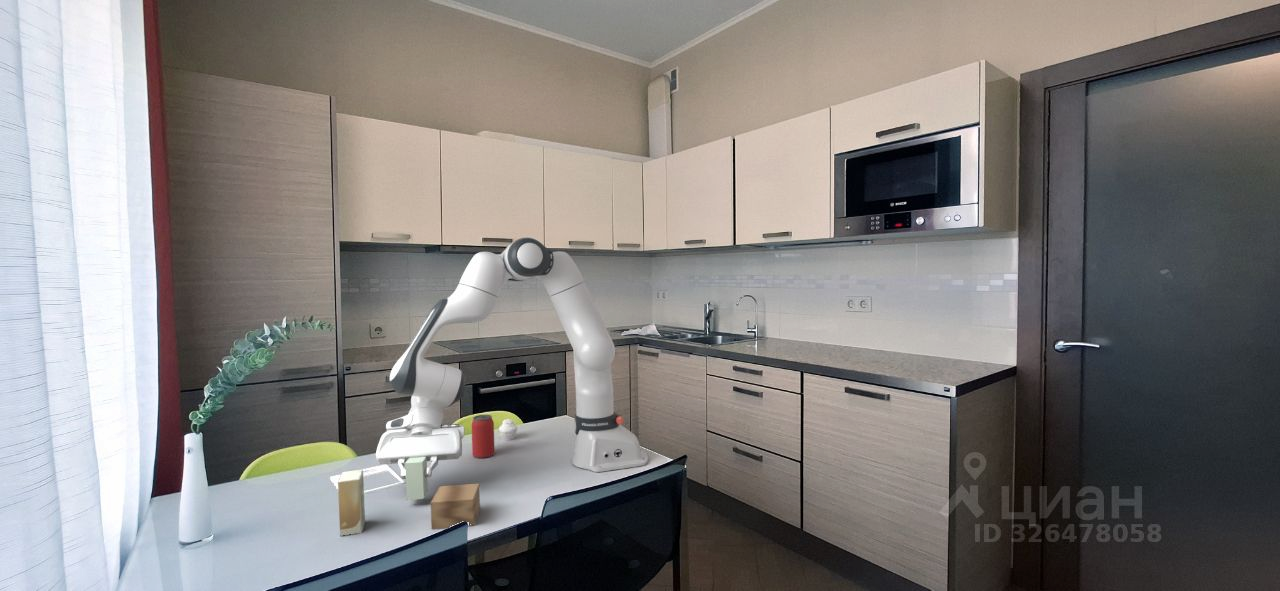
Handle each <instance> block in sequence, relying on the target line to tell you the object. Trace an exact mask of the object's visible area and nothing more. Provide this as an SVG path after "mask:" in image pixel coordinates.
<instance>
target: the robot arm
mask: <svg viewBox="0 0 1280 591" xmlns="http://www.w3.org/2000/svg"><path fill="white" fill-rule="evenodd" d="M533 278H537V279H538V280H539V281H541V283H542V284H543V286H544V287H545V290H546V293H547V294H548V296H549V299H550V302H551V303H552V306H553V308H554V310H555V312H556V314H557V316H558V320H559V322H560V323H561V326H562V328H563V329H564V332H565V334H566V336H567V339H568V341H569V343H570V345H571V348H572V349H573V368H574V384H575V414H574V419H573V420H574V433H575V443H574V444H575V445H574V450H573V454H572V460H571V463H572V465H573V466H574V467H578V468H581V469H585V470H589V471H591V472H594V473H602V472H608V471H616V470H623V469H629V468H636V467H642V466H645V465H646V464H648V462H649V456H648V453H647V452H646V450H644V449H642V448H641V445H640V442H639V439H638V437H637V436H636V434H634V433H633V432H632V431H630V430H629V429H627V428H626V427H624V426H623V424H624V419H623V416H621V415H620V414H619V413H618V411H616V412H615V411H614V384H613V378H612V368H611V364H612V363H613V362H614V360H615V355H616V347H615V344H614V342H613V340H612V337H611V335H610V333H609V331H608V329H607V326H606V325H605V323H604V321H603V319H602V317H601V315H600V313H599V310H598V309H597V307H596V304H595V302H594V300H593V298H592V296H591V292H590V291H589V289H588V287H587V284H586V282H585V281H584V278H583V275H582V274H581V271H580V270H579V268H578V266H577V264H576V263H575V261H574V260H573V258H572V257H571V256H570V254H569V253H567V252H566V251H561V250H560V251H553V252H552V251H551V250H550V249H549V248H547V247H546V246H545V245H544V244H543V243H541V242H540V241H539V240H537V239H535V238H532V237H521V238H518V239H516V240H515V241H513V242H511V243H510V244H508V246H507V247H506V248H505V249H504V250H503V251H502V252H500V253H498V254H496V253H493V252H491V251H480V252H478V253H475V254H474V255H473V257H472V258H471V259H470V261H469V263H468V264H467V266H466V268H465V269H464V271H463V273H462V275H461V278H460V279H459V282H458V285H457V286H456V288H455V290H454V292H453V293H451V295H449V296H448V297H447V298H442V299H439V301H437V302H436V303H435V304H434V305H433V307H432V308H431V309H430V311H429V313H428V314H427V316H426V317H425V319H424V320H423V322H422V323H421V325H420V327H419V328H418V330H417V331H416V333H415V334H414V336H413V337H412V339H411V341H410V342H409V344H408V345H407V347H406V348H405V349H404V352H403V353H402V354H401V356H400V357H399V359H398V360H397V361H396V362H395V364H394V365H393V367H392V369H391V370H390V373H389V378H388V382H389V384H390V386H391V387H392V390H394V392H396V394H398V395H403V396H410V397H411V398H410V404H411V405H410V409H409V411H408V414H405V415H403V416H401V417H398V418H395V419H392V420H389V421H387V422H386V424H385V429H386V431H385V432H384V433H382V435H381V436H380V438H379V442H378V444H377V447H376V452H375V459H376V461H377V462H378V464H380V465H384V464H387V465H394V464H397V465H398V467H399V469H400V475H399V477H400V478H401V479H402V480H406V478H405V462H406V461H407V460H408V459H409V458H413V457H426V458H427V462H430V464H429V466H428V467H427V468H425V470H424V471H425V472H424V476H425V477H427V478H432V476H433V475H432V474H433V471H434V470H435V469H436V468H437V466H438V465H439V461H448V460H449V461H451V460H458V459H460V458H461V457H462V455H463V441H462V439H463V438H464V437H465V430H466V429H465V427H464V426H463V425H460V423H454V424H451V423H450V424H443V423H444V417H445V416H444V410H445V408H449V407H452V406H453V405H454V404H456V403H457V402H459V401H460V400H461V399H462V398H463V396H464V393H465V390H466V384H467V383H466V382H467V381H466V380H467V379H466V375H465V373H464V372H463V371H462V369H459V368H457V367H454V366H451V365H447V364H443V363H440V362H436V361H432V360H430V359H427V358H424V355H425V353H426V352H427V350H428V349H429V348H430V345H431V344H432V343H433V341H434V339H435V338H436V336H437V334H438V332H439V331H441V329H442V328H444V327H446V326H449V325H454V324H474V323H478V322H482V321H483V320H485V319H487V318H489V316H491V314H492V313H493V311H494V310H495V307H496V305H497V303H498V299H499V297H500V294H501V291H502V289H503V287H504V285H505V283H507V281H512V282H523V281H526V280H527V281H528V280H530V279H531V280H532V279H533Z"/></svg>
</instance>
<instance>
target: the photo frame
mask: <svg viewBox="0 0 1280 591" xmlns="http://www.w3.org/2000/svg"><path fill="white" fill-rule="evenodd" d="M361 470H363V478H366V477H365V476H367V477H370V475H371V476H375V475H374V474H376V475H379V473H380V474H383V473H388V472H389V473H390V474H391V475H392V476H393V477H394V478H395V479H396V478H397V479H398V480H399V481H400V482H399V481H398V480H397V479H396V480H397V481H398V482H395V483H392V484H389V485H388V484H386V485H384V486H380V487H379V486H378V487H376V488H372V489H368V490H364V493H366V494H369V493H368V492H370V493H373V492H372V491H374V492H377V491H376V490H378V491H381V489H382V490H384V489H385V488H386V489H389V487H390V488H394V487H397V486H400V484H401V485H404V483H405V484H406V481H404V479H401V477H400V475H398V474H397V473H396V472H395V471H394V470H393V469H392V468H391V467H390V466H389V464H384V465H381V464H380V465H376V466H371V467H368V468H362V469H361ZM341 474H342V473H341ZM341 474H337V475H332V476H330V477H329V480H330V482H332V484H333V483H334V484H333V485H334V487H335V486H336V487H335V488H336V490H337V489H338V480H339V478H340V475H341ZM393 486H394V487H393Z"/></svg>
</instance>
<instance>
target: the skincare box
mask: <svg viewBox="0 0 1280 591" xmlns="http://www.w3.org/2000/svg"><path fill="white" fill-rule="evenodd" d="M339 475H340V474H339ZM364 491H365V484H364V477H363V470H362V469H355V470H348V471H342V472H341V475H340V478H339V480H338V490H337V492H338V493H337V494H338V518H339V536H340V537H344V536H343V535H345V536H350V535H349V534H351V535H356V534H355V533H357V534H361V533H360V532H362V533H363V531H364V527H365V524H366V515H365V514H366V510H365V494H364Z"/></svg>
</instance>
